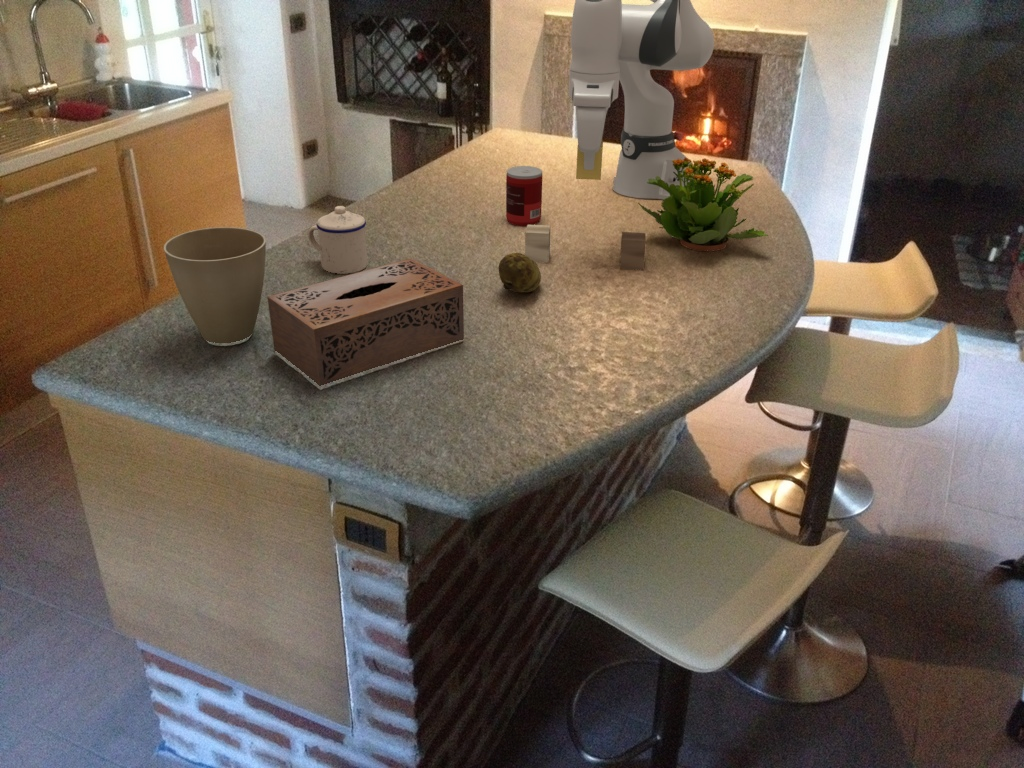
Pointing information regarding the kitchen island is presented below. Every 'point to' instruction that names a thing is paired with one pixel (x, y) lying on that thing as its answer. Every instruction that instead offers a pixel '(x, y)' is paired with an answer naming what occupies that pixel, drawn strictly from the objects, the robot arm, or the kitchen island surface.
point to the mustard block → (589, 174)
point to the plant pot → (219, 279)
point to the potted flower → (701, 206)
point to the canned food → (523, 195)
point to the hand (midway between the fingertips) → (589, 164)
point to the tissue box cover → (366, 319)
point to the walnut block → (632, 251)
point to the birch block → (537, 243)
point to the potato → (519, 273)
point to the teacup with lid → (341, 241)
